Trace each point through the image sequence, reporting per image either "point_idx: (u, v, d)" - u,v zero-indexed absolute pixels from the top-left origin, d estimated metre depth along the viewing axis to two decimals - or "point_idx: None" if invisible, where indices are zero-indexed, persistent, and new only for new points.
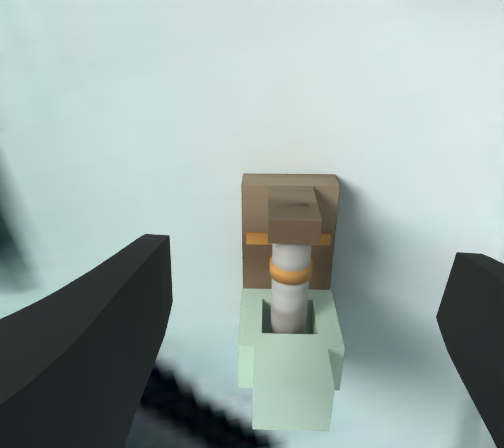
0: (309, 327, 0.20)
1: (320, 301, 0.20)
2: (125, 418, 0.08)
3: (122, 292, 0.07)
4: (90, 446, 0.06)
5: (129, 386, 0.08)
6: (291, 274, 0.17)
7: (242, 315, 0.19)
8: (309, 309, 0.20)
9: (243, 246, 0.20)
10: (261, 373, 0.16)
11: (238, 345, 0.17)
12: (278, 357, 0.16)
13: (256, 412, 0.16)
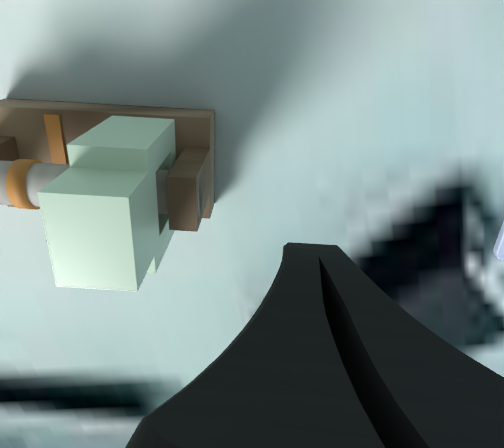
0: None
1: None
2: None
3: None
4: None
5: None
6: (9, 193, 0.14)
7: None
8: None
9: None
10: None
11: None
12: None
13: (103, 285, 0.12)
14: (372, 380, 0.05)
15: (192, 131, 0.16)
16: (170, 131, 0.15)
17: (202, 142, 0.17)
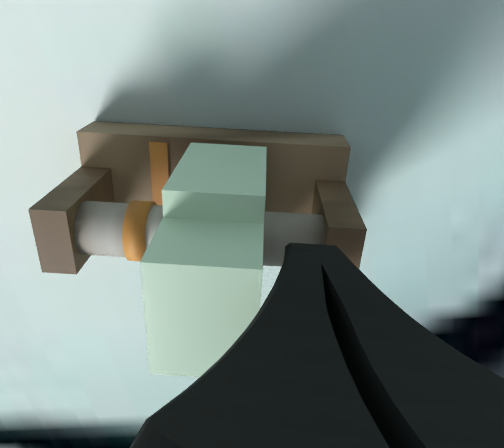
0: None
1: None
2: None
3: None
4: None
5: None
6: (125, 245, 0.11)
7: None
8: None
9: None
10: None
11: None
12: None
13: None
14: (370, 380, 0.05)
15: (326, 162, 0.14)
16: None
17: (336, 175, 0.14)
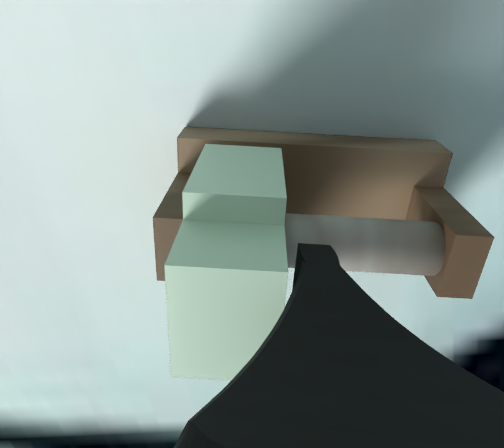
0: None
1: None
2: None
3: None
4: None
5: None
6: None
7: None
8: None
9: None
10: None
11: None
12: None
13: (233, 376, 0.09)
14: None
15: (427, 168, 0.14)
16: None
17: (435, 181, 0.14)
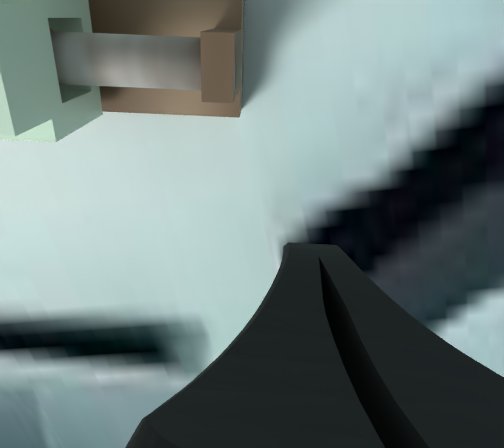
0: (61, 18, 0.14)
1: None
2: None
3: None
4: None
5: None
6: None
7: None
8: None
9: None
10: None
11: None
12: None
13: None
14: (372, 380, 0.05)
15: (222, 9, 0.15)
16: None
17: (233, 22, 0.15)
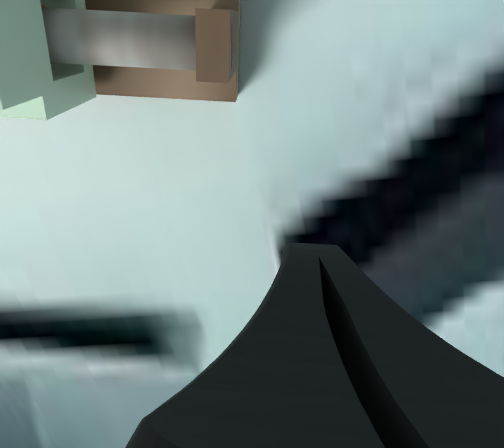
0: None
1: None
2: None
3: None
4: None
5: None
6: None
7: None
8: None
9: None
10: None
11: None
12: None
13: None
14: (372, 380, 0.05)
15: None
16: None
17: (229, 4, 0.15)
